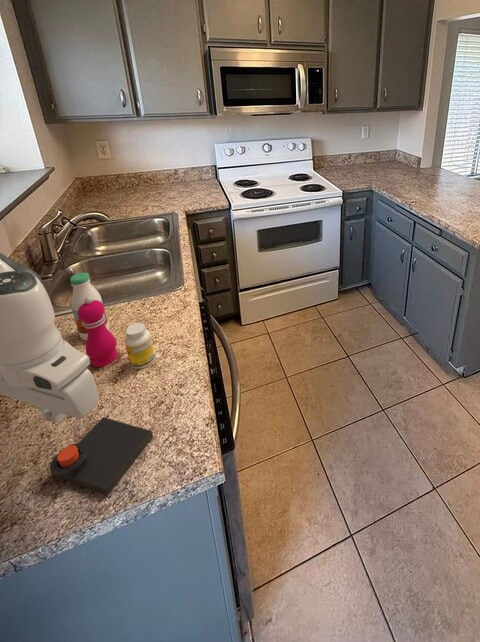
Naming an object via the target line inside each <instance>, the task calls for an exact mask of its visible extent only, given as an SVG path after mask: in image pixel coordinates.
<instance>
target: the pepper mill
mask: <svg viewBox="0 0 480 642" xmlns="http://www.w3.org/2000/svg"><path fill="white" fill-rule="evenodd" d="M84 302H85V303H83V304H82V305H81V306H80V307H79V309H78V317H79V319H80V320H82V321H83V324H84V325H83V326H84V327H85V328H87V332H88V338H87V341H86V343H85V353H86V354H85V355H87V356H88V358H90V363H91V365H92V366H93V367H96V368H103V367H106V366H108V365H111V364H112V363H113V362H114V361H115V360H116V359H117V358H118V355H119V354H118V353H119V352H118V350H117V345H118V343H117V339H116V337H115V335H114V333H112V332H111V331H110V330H108V329H107V328H106V326H105V323H104V322H105V315H104V312H105V313H106V307H105V305H104V302H103V301H102V302H103V303H102V302H100V301H98V300H93V299H92V298H91V297H87V298H86V299H85V300H84Z"/></svg>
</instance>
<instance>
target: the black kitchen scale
mask: <svg viewBox="0 0 480 642" xmlns="http://www.w3.org/2000/svg"><path fill="white" fill-rule="evenodd" d="M153 438H154V435H153V431H152V430H150V429H145V428H143V427H139V426H135V425H132V424H128V423H125V422H121V421H118V420H115V419H111V418H108V417H105V416H103V417H102V418H101V419H100V420H99V421H98V422H97V423H96V424H95V425H94V426H93V427H92V428H91V429H90V430H89V431H88V432H87V433H86V434H85V435H84V436H83V437H82V439H80V440H79V441H78V442H77V443H72V444H70V445H68V446H71V445H75V446H76V447H77V449H78V452H79V458H78V459H77V461H76V462H75V463H74V464H72V465H70V466H68V467H61V466H60V464H59V462H58V459H57V457H58V454H59V453H60V452H61V451H62V450H63V449H64V448H62V449H61V450H59V452H58V453H57V454H56V455H54V457H53V458H52V460H51V462H50V464H49V470H50V474H51V477H52V479H54V480H57V481H65V482H67V483H71V484H74V485H77V486H78V487H81V488H84V489H88V490H90V491H92V492H96V493H97V494H98V493H99V494H101V495H104V496H107V497H108V496H109V495H110V494H111V493H112V492H113V490H114V489H115V487H116V486H117V485H118V484H119V482H120V481H121V480H122V478H123V477H124V476H125V475H126V473H127V472H128V470H129V469H130V468H131V467H132V465H133V464H134V463H135V461H137V459H138V458H139V456H141V454H142V453H143V451H144V450H145V449H146V447H147V446H148V445H149V443H150V442H151V441H152V440H153ZM100 492H101V493H100Z"/></svg>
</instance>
